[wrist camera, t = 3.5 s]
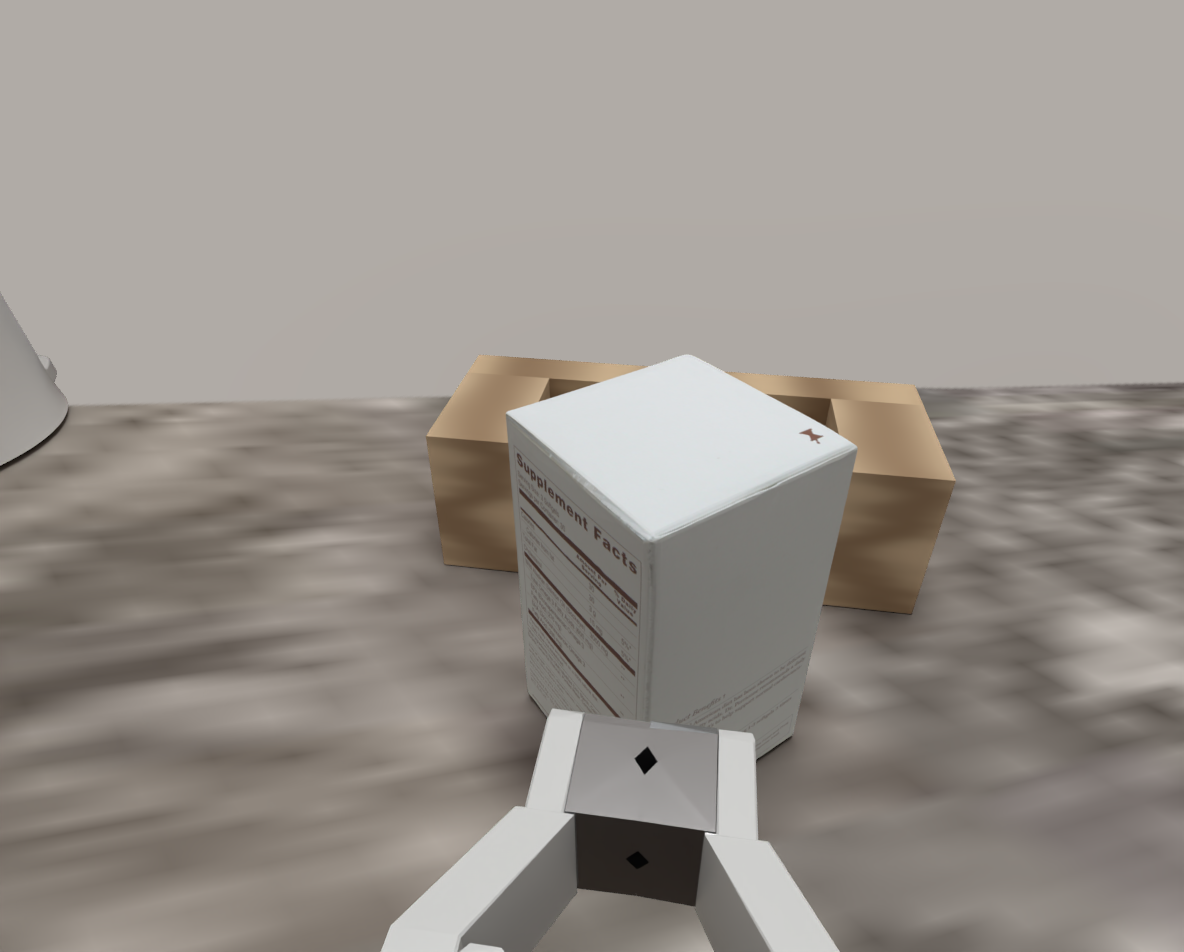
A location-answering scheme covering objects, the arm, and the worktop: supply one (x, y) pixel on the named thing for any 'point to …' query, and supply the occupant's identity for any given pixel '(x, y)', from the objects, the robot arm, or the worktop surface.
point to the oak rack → (850, 408)
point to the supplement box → (674, 548)
